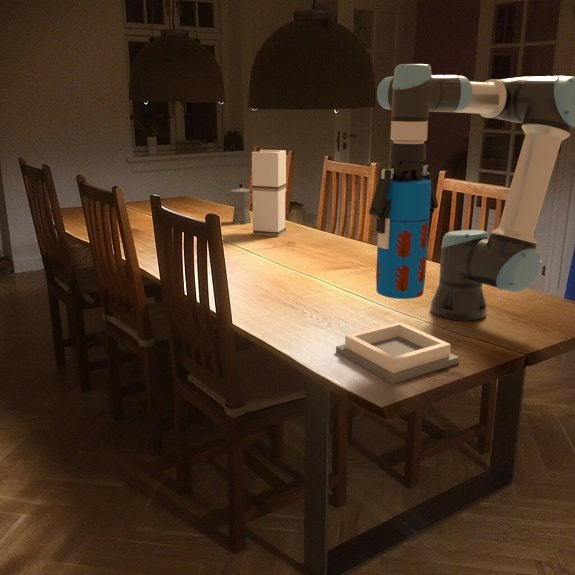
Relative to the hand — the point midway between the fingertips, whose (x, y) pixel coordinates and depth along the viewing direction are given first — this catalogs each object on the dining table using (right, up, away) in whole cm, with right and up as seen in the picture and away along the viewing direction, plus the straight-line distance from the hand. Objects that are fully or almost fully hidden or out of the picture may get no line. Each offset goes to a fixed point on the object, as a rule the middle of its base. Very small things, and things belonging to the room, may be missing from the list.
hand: (402, 244), depth 139 cm
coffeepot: (-46, +21, +158) cm, 166 cm away
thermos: (0, -11, +3) cm, 11 cm away
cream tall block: (-33, +14, +135) cm, 140 cm away
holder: (0, -26, +8) cm, 27 cm away
